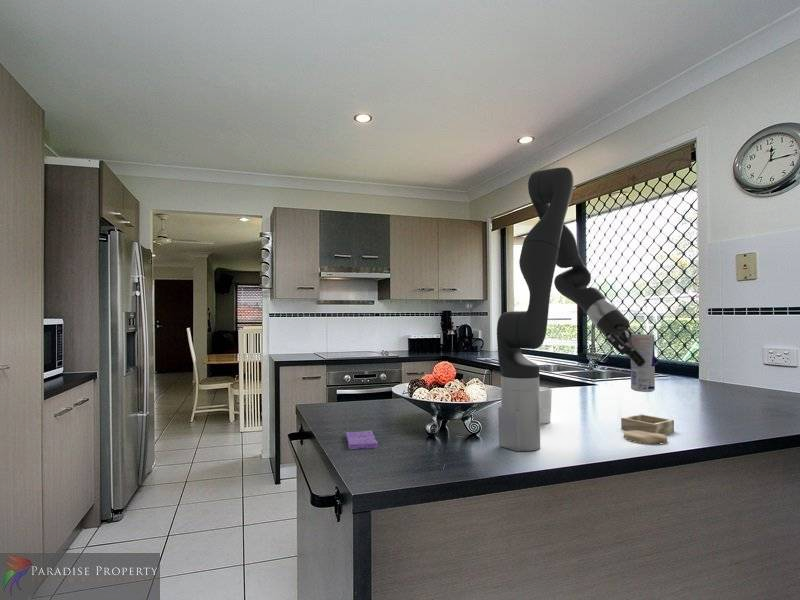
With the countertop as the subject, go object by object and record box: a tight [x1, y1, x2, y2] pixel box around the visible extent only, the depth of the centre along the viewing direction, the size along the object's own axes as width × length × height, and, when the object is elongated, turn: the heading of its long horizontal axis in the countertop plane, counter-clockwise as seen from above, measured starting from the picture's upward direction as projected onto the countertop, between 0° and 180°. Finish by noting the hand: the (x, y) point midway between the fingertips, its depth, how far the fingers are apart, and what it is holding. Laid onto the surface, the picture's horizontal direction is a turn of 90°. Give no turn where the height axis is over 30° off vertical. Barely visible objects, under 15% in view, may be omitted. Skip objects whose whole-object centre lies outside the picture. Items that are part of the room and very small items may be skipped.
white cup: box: [539, 386, 553, 425], centre depth 143 cm, size 8×8×10 cm
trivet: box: [623, 430, 668, 445], centre depth 122 cm, size 10×10×1 cm
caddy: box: [620, 413, 675, 435], centre depth 131 cm, size 10×10×3 cm
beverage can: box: [630, 333, 656, 393], centre depth 124 cm, size 6×6×15 cm
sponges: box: [345, 430, 378, 450], centre depth 120 cm, size 7×13×2 cm, turn 10°
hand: (649, 363), depth 123 cm, fingers closed on beverage can, 5 cm apart
